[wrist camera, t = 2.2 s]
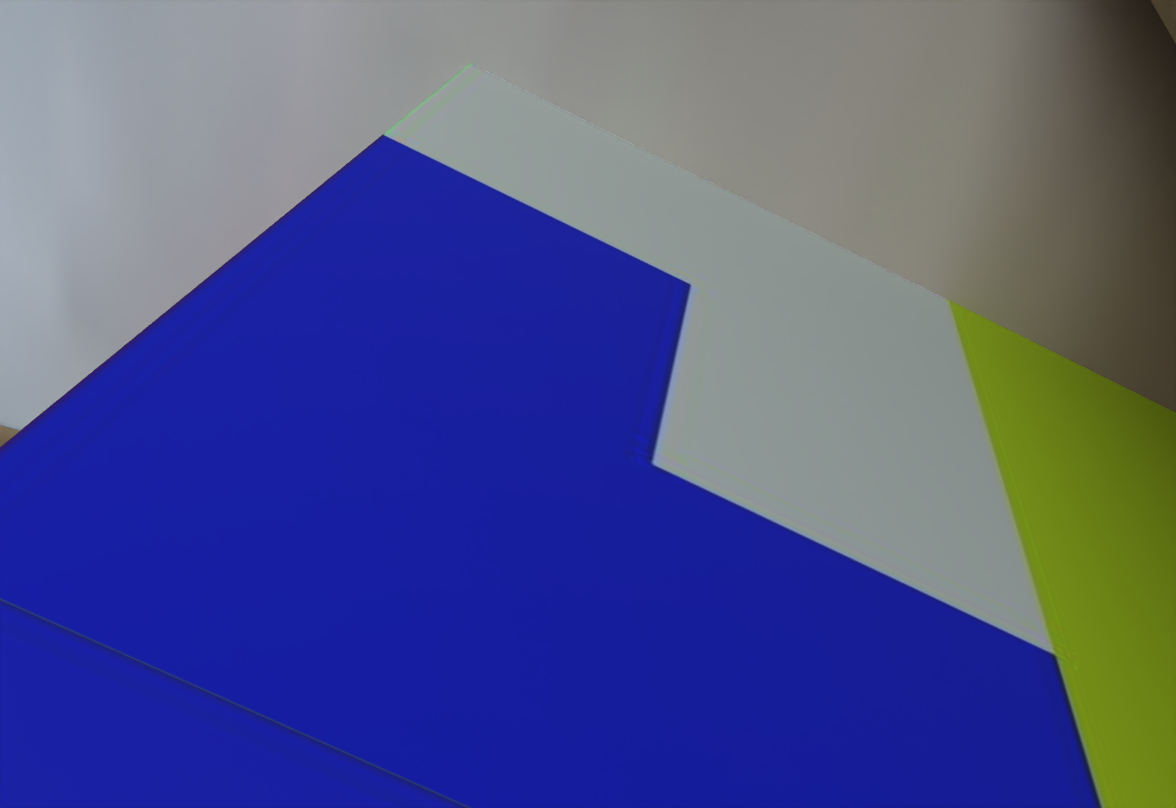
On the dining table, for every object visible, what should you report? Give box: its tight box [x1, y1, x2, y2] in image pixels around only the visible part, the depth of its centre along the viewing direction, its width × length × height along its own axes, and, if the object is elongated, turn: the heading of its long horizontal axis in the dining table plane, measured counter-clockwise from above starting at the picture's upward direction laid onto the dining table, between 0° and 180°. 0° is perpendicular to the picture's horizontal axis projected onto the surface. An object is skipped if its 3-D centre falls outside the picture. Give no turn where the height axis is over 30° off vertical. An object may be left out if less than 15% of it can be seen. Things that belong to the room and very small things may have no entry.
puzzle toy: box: [0, 63, 1176, 808], centre depth 12 cm, size 10×10×10 cm
